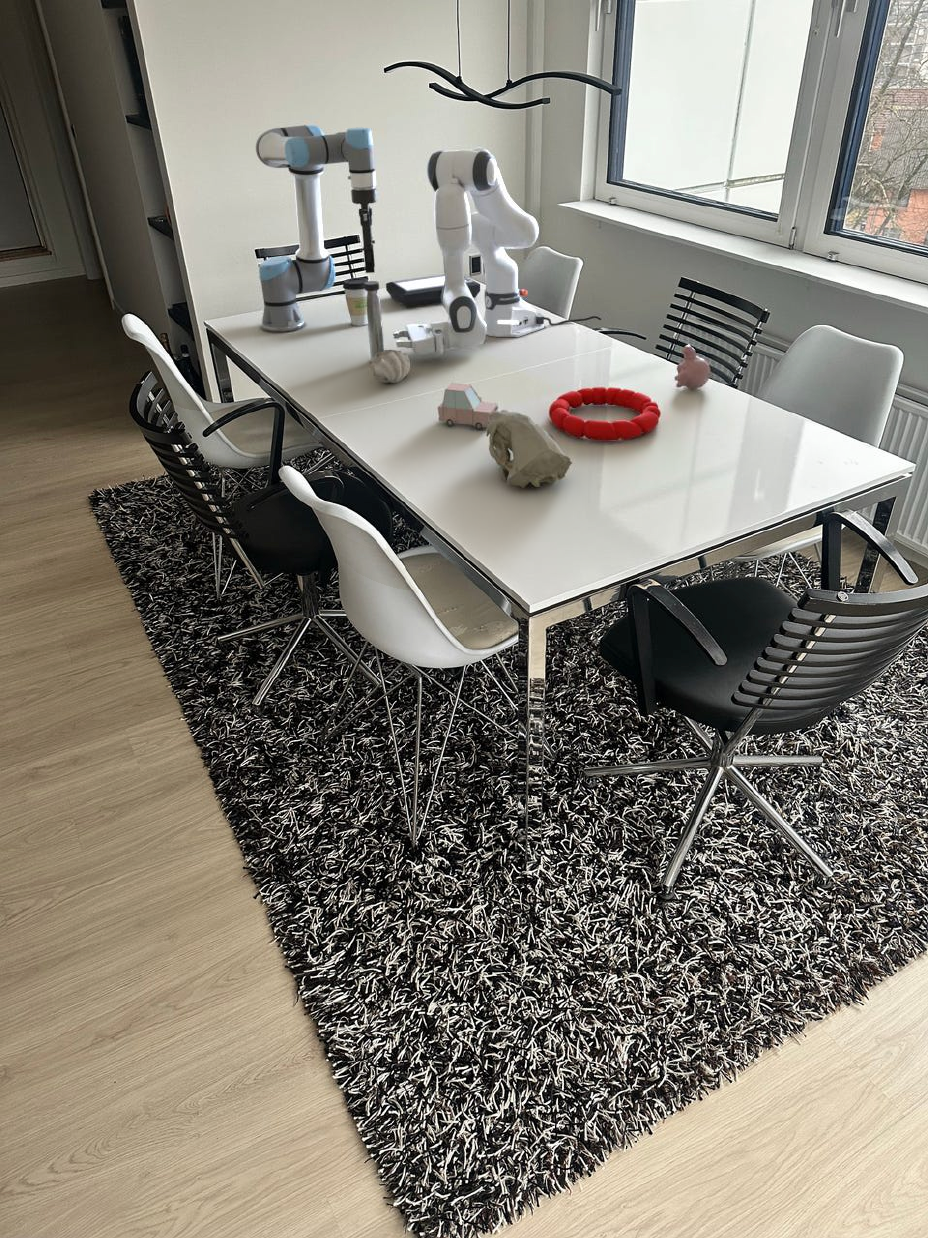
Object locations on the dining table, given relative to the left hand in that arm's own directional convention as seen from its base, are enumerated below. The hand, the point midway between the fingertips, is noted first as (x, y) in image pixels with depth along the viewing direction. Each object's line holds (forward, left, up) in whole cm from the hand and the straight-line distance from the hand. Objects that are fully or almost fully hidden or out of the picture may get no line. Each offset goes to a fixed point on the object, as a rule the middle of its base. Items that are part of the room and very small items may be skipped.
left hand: (370, 269), depth 275 cm
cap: (0, 0, -4) cm, 4 cm away
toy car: (+59, +19, -29) cm, 69 cm away
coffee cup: (-44, -2, -29) cm, 53 cm away
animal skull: (+92, +26, -29) cm, 100 cm away
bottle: (0, 0, -29) cm, 29 cm away
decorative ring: (+67, +55, -29) cm, 92 cm away
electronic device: (-70, +29, -29) cm, 81 cm away
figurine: (+49, +88, -29) cm, 105 cm away
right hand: (0, +6, -22) cm, 23 cm away
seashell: (+21, +2, -29) cm, 36 cm away
